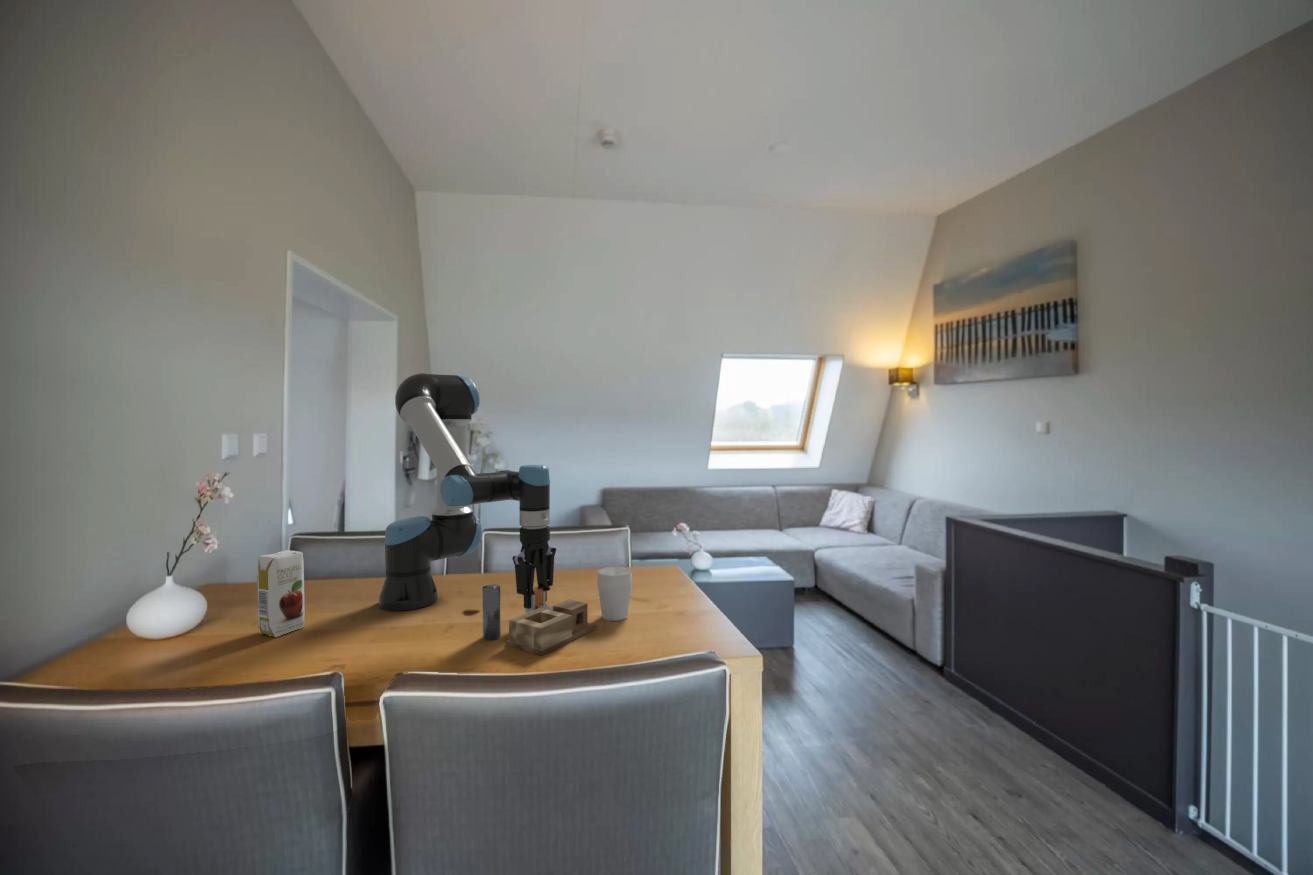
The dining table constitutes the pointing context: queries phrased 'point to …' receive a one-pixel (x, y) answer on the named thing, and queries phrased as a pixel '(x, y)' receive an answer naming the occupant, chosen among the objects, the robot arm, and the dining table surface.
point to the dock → (576, 625)
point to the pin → (539, 600)
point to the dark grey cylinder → (491, 612)
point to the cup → (614, 592)
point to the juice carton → (280, 592)
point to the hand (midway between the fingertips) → (535, 617)
